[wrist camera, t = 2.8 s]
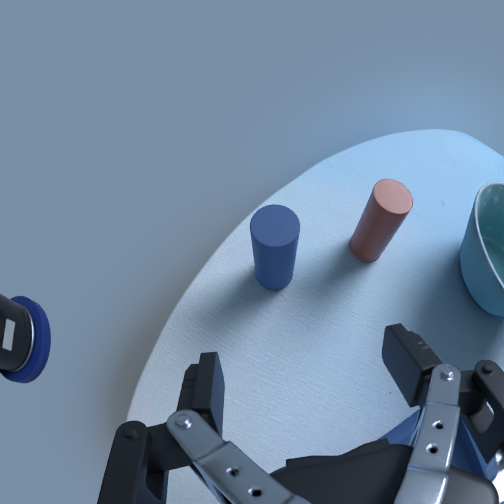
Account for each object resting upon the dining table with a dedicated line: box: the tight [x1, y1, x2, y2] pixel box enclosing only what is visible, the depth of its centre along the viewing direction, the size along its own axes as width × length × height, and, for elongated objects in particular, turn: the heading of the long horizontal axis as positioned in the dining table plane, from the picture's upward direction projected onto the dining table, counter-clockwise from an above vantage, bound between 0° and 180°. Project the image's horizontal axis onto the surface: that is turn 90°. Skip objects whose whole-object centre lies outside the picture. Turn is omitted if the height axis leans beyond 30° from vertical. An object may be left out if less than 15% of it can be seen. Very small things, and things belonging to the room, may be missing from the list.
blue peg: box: [250, 205, 300, 290], centre depth 25 cm, size 4×4×9 cm
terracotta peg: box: [350, 179, 413, 262], centre depth 26 cm, size 4×4×9 cm
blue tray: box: [378, 409, 486, 478], centre depth 17 cm, size 17×15×3 cm
